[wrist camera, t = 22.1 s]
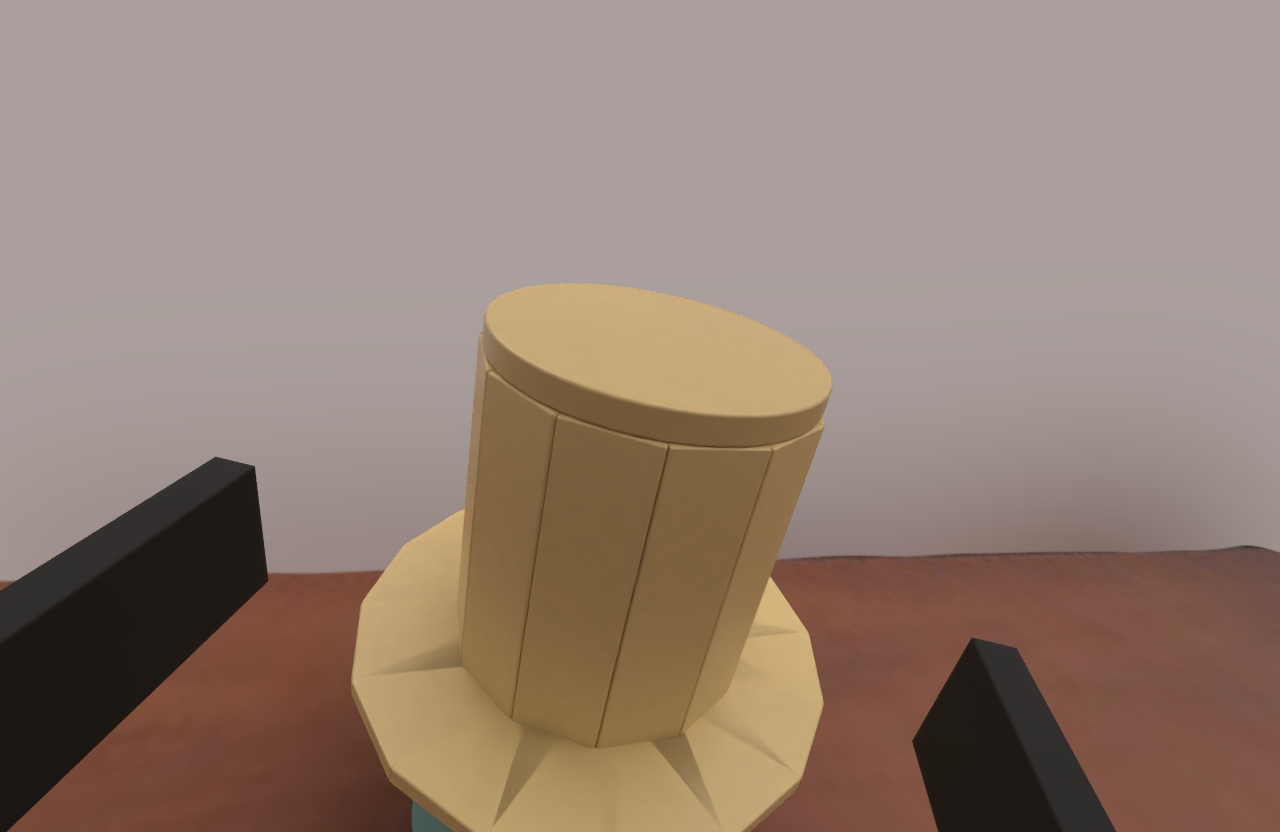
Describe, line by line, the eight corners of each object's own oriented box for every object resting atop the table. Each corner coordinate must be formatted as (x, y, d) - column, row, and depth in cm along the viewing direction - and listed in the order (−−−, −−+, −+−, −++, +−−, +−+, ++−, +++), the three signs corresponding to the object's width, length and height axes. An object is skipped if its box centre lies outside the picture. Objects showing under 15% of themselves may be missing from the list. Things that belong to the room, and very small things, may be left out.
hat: (709, 501, 30) (772, 284, 25) (914, 811, 17) (1114, 493, 13) (375, 505, 25) (376, 234, 20) (318, 953, 12) (286, 503, 7)
